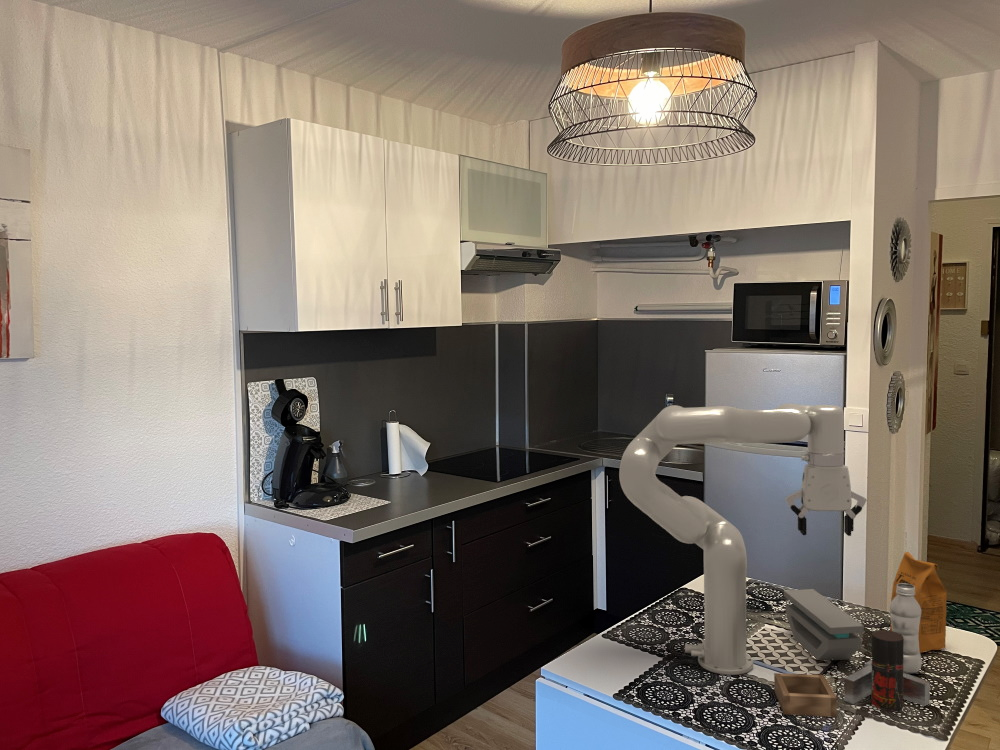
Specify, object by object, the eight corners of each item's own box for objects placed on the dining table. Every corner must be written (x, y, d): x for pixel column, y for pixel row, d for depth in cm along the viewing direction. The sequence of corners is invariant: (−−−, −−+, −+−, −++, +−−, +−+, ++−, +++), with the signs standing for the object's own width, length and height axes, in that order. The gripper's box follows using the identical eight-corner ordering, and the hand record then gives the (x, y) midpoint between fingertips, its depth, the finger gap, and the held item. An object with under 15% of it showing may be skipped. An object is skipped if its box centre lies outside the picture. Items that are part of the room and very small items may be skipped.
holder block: (783, 714, 164) (783, 695, 164) (774, 690, 174) (774, 673, 174) (836, 716, 162) (836, 697, 162) (824, 692, 173) (824, 675, 172)
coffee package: (919, 632, 203) (920, 548, 202) (952, 652, 191) (953, 563, 189) (883, 635, 202) (883, 550, 201) (913, 655, 190) (914, 565, 188)
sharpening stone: (863, 672, 182) (863, 626, 181) (830, 674, 182) (830, 627, 181) (813, 629, 207) (813, 589, 206) (783, 631, 207) (783, 590, 206)
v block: (846, 704, 168) (846, 681, 167) (831, 679, 179) (832, 658, 178) (932, 708, 165) (932, 684, 165) (912, 682, 176) (912, 661, 176)
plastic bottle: (925, 678, 178) (926, 591, 177) (893, 676, 180) (893, 590, 178) (916, 665, 185) (917, 581, 183) (885, 663, 186) (886, 580, 185)
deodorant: (865, 699, 170) (866, 630, 168) (892, 697, 170) (893, 629, 169) (881, 712, 164) (882, 642, 163) (909, 710, 164) (909, 640, 163)
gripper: (789, 462, 177) (789, 538, 178) (871, 462, 174) (870, 539, 176) (782, 456, 184) (782, 529, 186) (861, 456, 182) (860, 530, 183)
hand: (825, 534), depth 181 cm, fingers open, 9 cm apart
